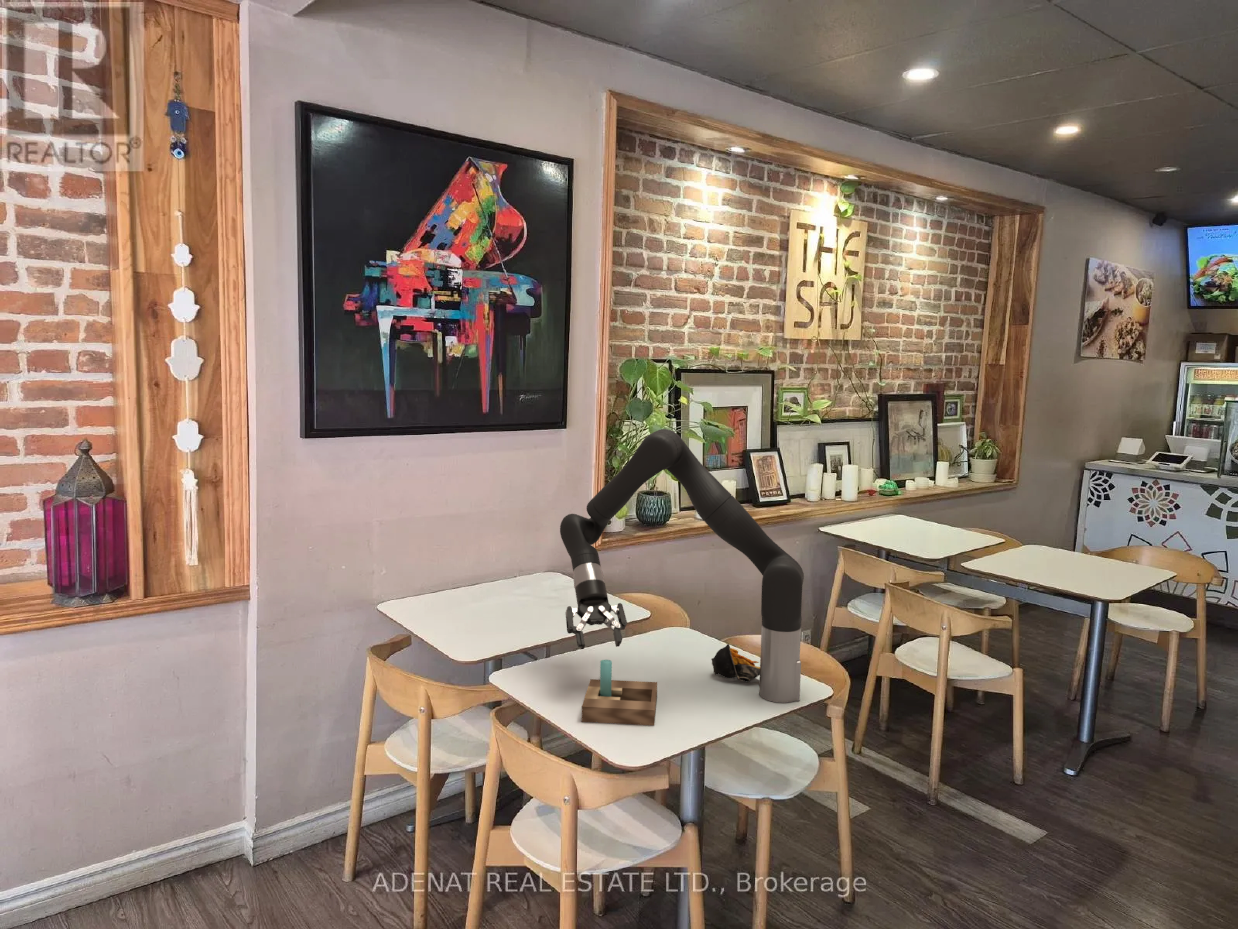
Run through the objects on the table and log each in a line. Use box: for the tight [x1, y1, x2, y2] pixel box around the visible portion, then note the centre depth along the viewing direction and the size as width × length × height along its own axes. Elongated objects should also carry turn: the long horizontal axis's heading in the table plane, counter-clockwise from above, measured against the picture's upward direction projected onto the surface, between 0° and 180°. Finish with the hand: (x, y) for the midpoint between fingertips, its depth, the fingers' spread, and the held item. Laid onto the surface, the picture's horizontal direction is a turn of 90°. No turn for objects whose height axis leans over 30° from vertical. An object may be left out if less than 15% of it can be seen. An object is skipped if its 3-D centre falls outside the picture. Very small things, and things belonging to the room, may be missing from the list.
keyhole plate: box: [581, 678, 658, 726], centre depth 188 cm, size 16×16×4 cm
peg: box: [599, 659, 613, 697], centre depth 188 cm, size 5×5×11 cm
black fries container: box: [710, 643, 760, 682], centre depth 207 cm, size 9×11×18 cm
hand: (600, 646), depth 192 cm, fingers open, 8 cm apart
